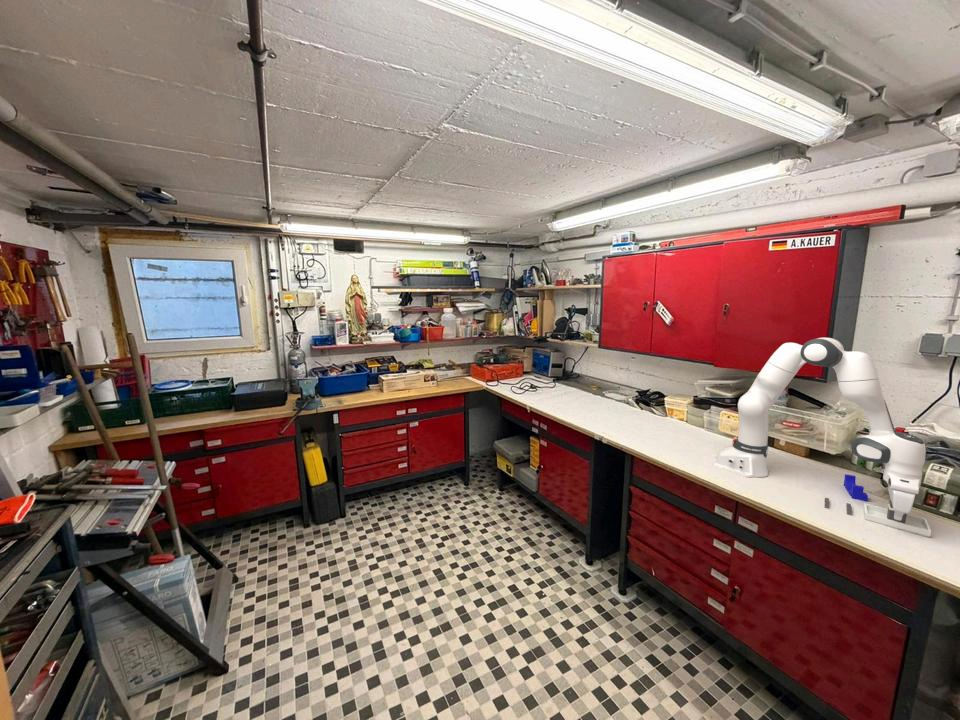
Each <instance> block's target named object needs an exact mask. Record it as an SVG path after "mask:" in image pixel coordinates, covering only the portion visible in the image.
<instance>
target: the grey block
mask: <svg viewBox="0 0 960 720" xmlns="http://www.w3.org/2000/svg"><path fill="white" fill-rule="evenodd" d="M887 507H888V508H887V509H888V512H887V519H889V520H893V521H897V522H901V523H904V524H905V522H906V516H907V514H905V513H904V514H903V516H902V520H901V521H900V520H896V519H894V513H895V511H894V509H893V506H892V502H891V499H889V501H888V503H887Z"/></svg>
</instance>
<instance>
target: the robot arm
mask: <svg viewBox="0 0 960 720" xmlns="http://www.w3.org/2000/svg"><path fill="white" fill-rule="evenodd" d="M806 363H807V364H809V365H812V366H815V367H817V366H819V367H826V368H832V369H833V370H834V372H835V374H836V375H835V376H836V379H837V383H838V385H837V386H838V388H839V391H840V394H841V395H842V397H843V398H844V399H845V400H847V401H848V402H851V403H853V404H855V405H858V406H859V407H860V408H862V410H863V411H864V413H865V417H866V420H867V422H868V423H867V424H868V426H869V428H870V429H869V433H868V434H865V435H862V436H858V437H856V438H854V439H853V440H852V441H851V443H850V449H851V451H852V453H853V454H854V456H856V457H857V458H858V459H860V460H862V461H864V462H865V461H866V462H870V463H876V464H883V465H884V469H883V476H882V479H883V481H885V482H886V483H887V485H888V486H887V491H888V495H889V498H890V500H891V502H892V506H893V509H894V511H895V513H894V519H896V520H900V521H901V520H902V516H903V514H904V513H905V514H911V512H912V509H913V505H914V503H915V498H916V495H919V493H920V488H921V484H922V479H923V478H922V477H923V470H922V469H923V466H924V464H925V463H926V462H925V460H926V453H927V451H926V450H927V449H926V444H925V441H923V439H921V438H920V437H918V436H916V435H914V434H910V433H907V432H900V431H896V429H895V426H894V423H893V421H892V417H891V414H890V411H889V407H888V406H887V403H886V400H885V398H884V394H883V392H882V389H881V388H882V387H881V383H880V380H879V374H878V371H877V368H876V366H875V364H874V361H873V359H872V358H871V356H870V354H868V353H866V352H864V351H857V350H855V351H851V350H850V351H846V347H845V344H844V343H843V342H842V341H840V339H839V340H838V339H837V338H833V337H818V338H813V339H810V340H808V341H806V342H805V343H804V344H803V345H802V344H799V343H796V342H785V343H783V344H781V345H780V346H779V347H778V348H777V349H776V350H775V351H774V352H773V353H772V354H771V356H770V357H769V359H768V360H767V361H766V363H765V364H764V366H763V367H762V368H761V370H760V371H759V373H758V374H757V376H756V378H755V379H754V382H753V383H752V385H751V386H750V387H749V389H748V390H747V391H746V392H745V393H744V394H743V395H742V396H740V398H739V399H738V402H737V411H738V413H737V414H738V434H737V436H738V437H737V436H734V437H733V438H732V443H731V444H732V445H731V446H728V447H724V448H722V449H721V450H719V452H718V454H717V456H715V457H713V458H712V459H711V462H710V463H711V465H712V466H713V467H716V468H720V469H722V470H724V471H728V472H729V473H732V474H735V475H739V476H742V477H744V478H764V477H765V478H766V477H768V476H769V469H768V463H767V457H768V455H769V444H768V439H769V429H770V427H769V411H770V409H771V408H772V407H773V406H774V405H775V403H776V402H777V401H778V399H779V398H780V396H781V395H782V394H783V392H784V391H785V389H786V387H788V385H789V384H790V382H791V381H792V380H793V379H794V377H795V376H796V375H797V374H798V372H799V370H800V369H801V368H802V367H803V366H804V365H805V364H806Z"/></svg>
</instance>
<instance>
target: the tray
mask: <svg viewBox="0 0 960 720" xmlns="http://www.w3.org/2000/svg"><path fill="white" fill-rule="evenodd" d="M862 508H863V517H864V520H865V521H868V522H871V523H874V524H878V525H882V526H885V527H889V528H892V529H896V530H899V531H902V532H903V531H904V532H906V533H907V532H908V533H910V534H914V535H918V536H922V537H926V538H929V539H931V535H932V530H931V526H930V524H929V522H928V520H927V518H926V517H923V516H918V515H914V514H911V513H909V514H907V516H906V522H905V524H904V523H901V522H897V521H893V520H889V519H887V512H888V508H886V507H882V506H878V505H874V504H870V503H867V502H866V503H865V502H863V506H862Z"/></svg>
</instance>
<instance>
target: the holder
mask: <svg viewBox="0 0 960 720" xmlns="http://www.w3.org/2000/svg"><path fill="white" fill-rule="evenodd" d="M824 508H825V509H827V510H829V509H830V498H829V497H824ZM845 510H846V515H847V516H852V512H853V511H852V505H851V503H848V502H847V503H846V505H845Z"/></svg>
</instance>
